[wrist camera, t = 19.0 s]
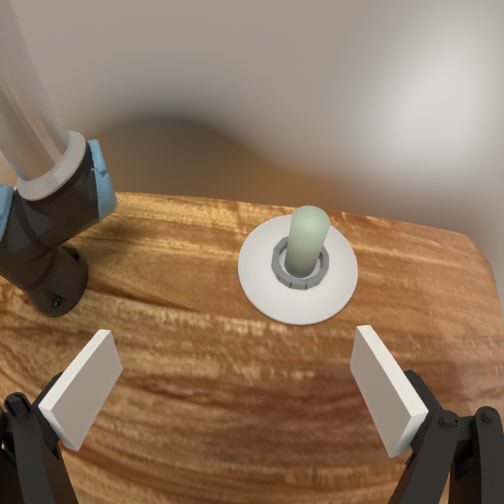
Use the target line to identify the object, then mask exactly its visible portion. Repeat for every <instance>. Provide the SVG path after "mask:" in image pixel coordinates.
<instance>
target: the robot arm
mask: <svg viewBox="0 0 504 504" xmlns="http://www.w3.org/2000/svg"><path fill="white" fill-rule="evenodd" d="M0 153H1V154H2V156H3V157H4V158H5V159H6V161H7V162H8V163H9V165H10V166H11V167H12V168H13V170H14V171H15V172H16V173H17V175H18V181H17V189H15V190H13V188H12V186H9V185H8V184H2V185H0V275H1V276H2V277H4V278H5V279H7V280H8V281H9V282H11V283H12V284H14V285H15V286H17V287H18V288H20V289H21V290H22V291H23V293H24V294H25V296H26V297H27V299H28V300H29V301H30V303H31V304H32V306H33V307H34V308H35V309H36V310H37V311H39V312H41V313H42V314H44V315H46V316H49V317H58V316H61V315H63V314H65V313H67V312H68V311H70V310H71V309H72V308H73V307H74V306H75V305H76V303H77V302H78V301H79V299H80V298H81V296H82V294H83V292H84V289H85V286H86V283H87V277H88V267H87V262H86V260H85V258H84V256H83V255H82V253H81V252H80V251H79V250H78V249H77V248H76V247H74V246H73V245H71V244H69V243H66V241H68V240H69V239H71V238H73V237H74V236H76V235H78V234H79V233H81V232H83V231H84V230H86V229H88V228H90V227H91V226H93V225H95V224H97V223H100V222H101V220H102V219H104V218H105V217H107V216H108V215H110V214H111V213H113V212H114V211H115V209H116V208H117V204H118V202H117V198H116V195H115V192H114V189H113V187H112V183H111V180H110V178H109V175H108V171H107V169H106V165H105V162H104V159H103V156H102V152H101V149H100V146H99V142H98V141H97V140H92V141H91V140H89V141H88V142H87V143H86V141H85V140H84V138H83V136H82V135H81V134H80V133H78V132H75V131H67V130H66V128H65V126H64V124H63V123H62V121H61V119H60V117H59V115H58V113H57V111H56V110H55V107H54V105H53V103H52V101H51V99H50V97H49V95H48V93H47V91H46V89H45V87H44V84H43V82H42V80H41V78H40V76H39V74H38V71H37V69H36V67H35V64H34V62H33V60H32V57H31V55H30V52H29V50H28V47H27V45H26V42H25V40H24V37H23V35H22V32H21V29H20V26H19V23H18V20H17V17H16V15H15V11H14V8H13V5H12V1H11V0H0ZM350 369H351V371H352V374H353V376H354V378H355V380H356V382H357V384H358V387H359V389H360V391H361V393H362V395H363V398H364V400H365V402H366V404H367V407H368V409H369V411H370V413H371V416H372V418H373V420H374V422H375V425H376V427H377V429H378V432H379V434H380V436H381V439H382V441H383V443H384V446H385V448H386V451H387V453H388V455H389V458H391V457H394V456H397V455H401V454H404V453H406V451H407V449H408V448H409V446H411V448H412V450H413V453H412V454H411V456H410V457H409V459H408V460H407V462H406V463H405V464H406V468H405V470H404V472H403V474H402V477H401V479H400V481H399V483H398V485H397V487H396V489H395V491H394V493H393V495H392V497H391V499H390V500H389V502H388V504H439V501H440V498H441V496H442V493H443V490H444V487H445V484H446V481H447V478H448V474H449V471H450V485H449V499H448V504H504V433H503V428H502V423H501V419H500V415H499V413H498V411H497V410H496V409H494V408H492V407H489V406H484V407H481V408H479V409H478V410H477V412H476V414H475V415H474V416H467V417H459V416H458V415H457V414H456V413H454V412H452V411H449V410H443V408H442V407H441V406H440V404H439V403H438V401H437V400H436V398H435V397H434V395H433V394H432V393H431V391H430V390H428V387H427V386H426V384H424V381H423V380H422V379H421V377H420V376H419V375H418V374H416V373H415V372H413V371H412V370H408V371H404V372H402V370H401V369H400V367H399V366H398V364H397V363H396V361H395V360H394V358H393V357H392V355H391V354H390V353H389V351H388V350H387V348H386V347H385V345H384V344H383V343H382V341H381V340H380V338H379V337H378V336H377V334H376V333H375V331H374V330H373V329H372V327H371V326H370V325H365V326H357V328H356V334H355V340H354V346H353V352H352V358H351V363H350ZM122 370H123V368H122V365H121V362H120V359H119V355H118V352H117V349H116V346H115V342H114V339H113V336H112V332H111V330H102V329H100V330H99V331H98V332H97V333H96V334H95V335H94V337H93V338H92V339H91V340H90V341H89V342H88V344H87V345H86V346H85V347H84V348H83V350H82V351H81V352H80V353H79V354H78V356H77V357H76V358H75V359H74V360H73V362H72V363H71V364H70V365H69V367H68V368H67V369H66V370H65V372H60V373H59V374H57V375H56V376H54V377H53V378H52V380H51V381H50V382H49V383H48V385H47V386H46V387H45V390H43V391H42V392H41V393H40V395H39V396H38V397H37V398H36V400H35V401H34V402H33V404H32V405H31V404H30V402H29V401H28V399H27V397H26V396H25V395H24V394H23V393H21V392H15V393H12V394H10V395H9V396H7V397H6V399H5V400H4V406H5V407H6V409H7V410H8V412H9V413H7V412H4V410H3V409H2V407H1V406H0V504H79V503H78V500H77V498H76V495H75V493H74V490H73V488H72V485H71V482H70V479H69V476H68V473H67V470H66V467H65V464H64V461H63V458H62V454H61V451H60V448H59V446H58V445H57V443H58V441H59V440H61V442H62V443H63V445H64V446H65V447H67V448H69V449H72V450H75V451H79V449H80V447H81V445H82V443H83V441H84V439H85V437H86V435H87V433H88V431H89V429H90V428H91V426H92V424H93V422H94V420H95V418H96V416H97V415H98V413H99V411H100V409H101V407H102V406H103V404H104V402H105V400H106V398H107V397H108V395H109V393H110V391H111V389H112V388H113V386H114V384H115V382H116V381H117V379H118V377H119V376H120V374H121V372H122ZM2 443H3V445H4V449H2Z"/></svg>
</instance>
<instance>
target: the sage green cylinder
mask: <svg viewBox="0 0 504 504" xmlns="http://www.w3.org/2000/svg"><path fill="white" fill-rule="evenodd" d="M329 227H330V220H329V217H328V215H327V214H326V213H325V212H324V211H323V210H321V209H320V208H318V207H315V206H303V207H300V208H298V209H297V210H295V211H294V213H293V215H292V219H291V225H290V231H289V237H288V243H287V249H286V255H285V261H284V266H285V269H286V271H287V272H288V274H290V275H291V276H293V277H295V278H306V277H308V276H309V275H311V274H312V272H313V270H314V268H315V265H316V263H317V260H318V257H319V255H320V252H321V249H322V247H323V244H324V241H325V239H326V236H327V233H328V230H329Z"/></svg>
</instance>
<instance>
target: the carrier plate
mask: <svg viewBox="0 0 504 504" xmlns="http://www.w3.org/2000/svg"><path fill="white" fill-rule="evenodd" d="M291 219H292V215H284V216H279V217H276V218H273V219H270V220H268V221H266V222H264V223H262V224H261V225H259V226H258V227H257V228H255V229H254V230H253V231H252V232H251V233H250V235H249V236H248V237H247V238H246V240H245V242H244V243H243V245H242V248H241V250H240V254H239V259H238V274H239V279H240V283H241V286H242V289H243V291H244V293H245V295H246V297H247V298H248V300H249V301H250V302H251V303H252V305H253V306H254V307H255V308H256V309H258V310H259V311H260V312H261V313H262V314H264V315H266V316H267V317H269V318H271V319H273V320H275V321H277V322H281V323H284V324H289V325H298V326H303V325H312V324H316V323H320V322H322V321H325V320H327V319H329V318H331V317H332V316H334V315H335V314H336V313H338V312H339V311H340V310H341V309H342V308H343V307H344V306H345V305H346V303H347V302H348V301H349V299H350V298H351V296H352V294H353V292H354V289H355V287H356V283H357V277H358V268H357V261H356V257H355V254H354V252H353V249H352V248H351V246H350V244H349V243H348V241H347V240H346V238H345V237H344V236H343V235H342V234H341V233H340V232H339V231H338V230H337V229H335V228H334V227H333V226H331V225H330V227H329V230H328V233H327V236H326V239H325V241H324V244H323V247H322V249H321V252H320V255H319V257H318V260H317V263H316V265H315V268H314V270H313V272H312V274H311V275H309V276H308V277H306V278H295V277H293V276H291V275H290V274H288V272H287V271H286V269H285V266H284V261H285V255H286V249H287V243H288V237H289V231H290V225H291Z"/></svg>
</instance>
